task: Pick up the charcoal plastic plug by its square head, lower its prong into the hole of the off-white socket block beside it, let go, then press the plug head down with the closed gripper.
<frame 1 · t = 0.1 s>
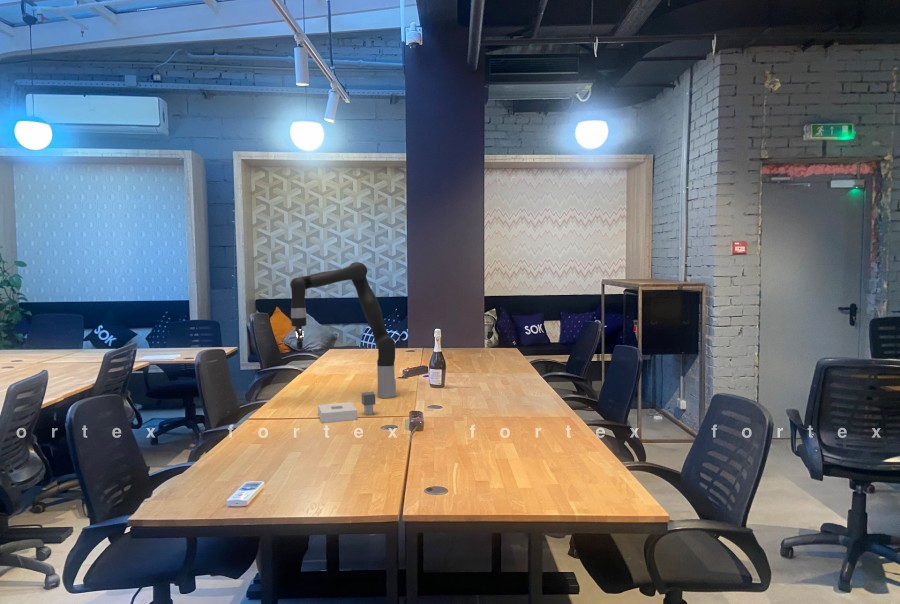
hand: (299, 348, 303), 29 cm above the table, fingers open, 8 cm apart
plug: (368, 413, 283), on the table
socket block: (337, 416, 278), on the table
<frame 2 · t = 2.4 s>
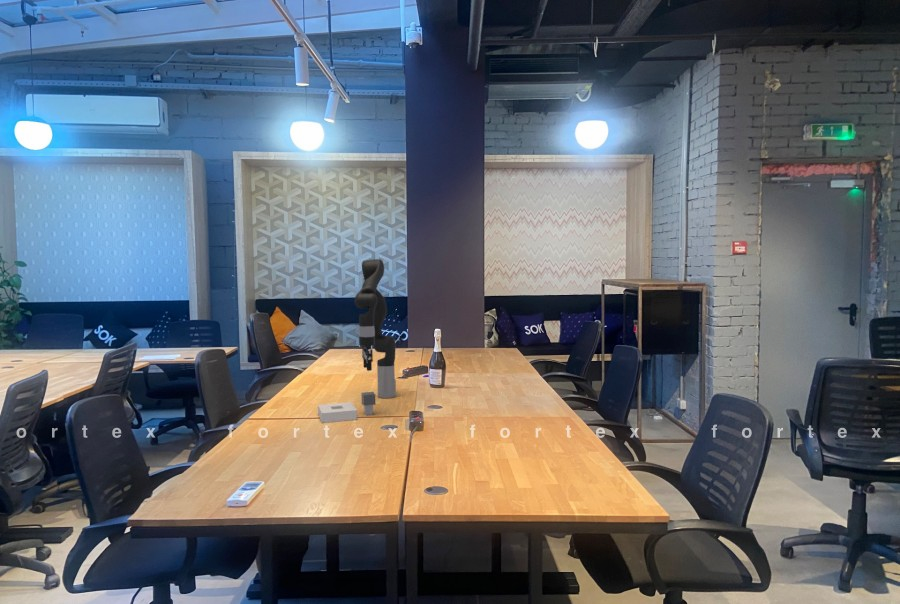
hand: (367, 369, 282), 22 cm above the table, fingers open, 8 cm apart
nothing on the table moved.
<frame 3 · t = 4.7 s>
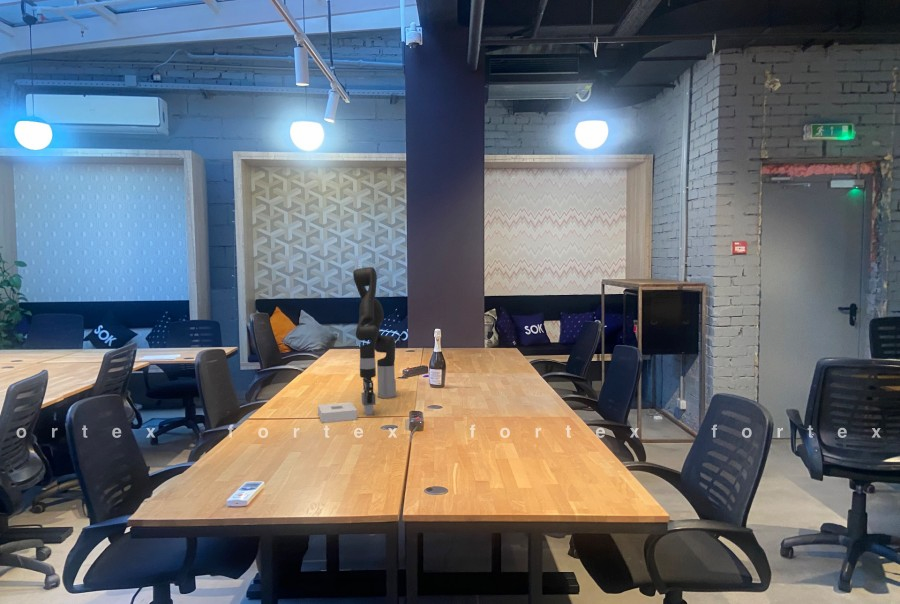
hand: (368, 401, 283), 6 cm above the table, fingers closed on plug, 5 cm apart
plug: (368, 413, 283), on the table, touching gripper
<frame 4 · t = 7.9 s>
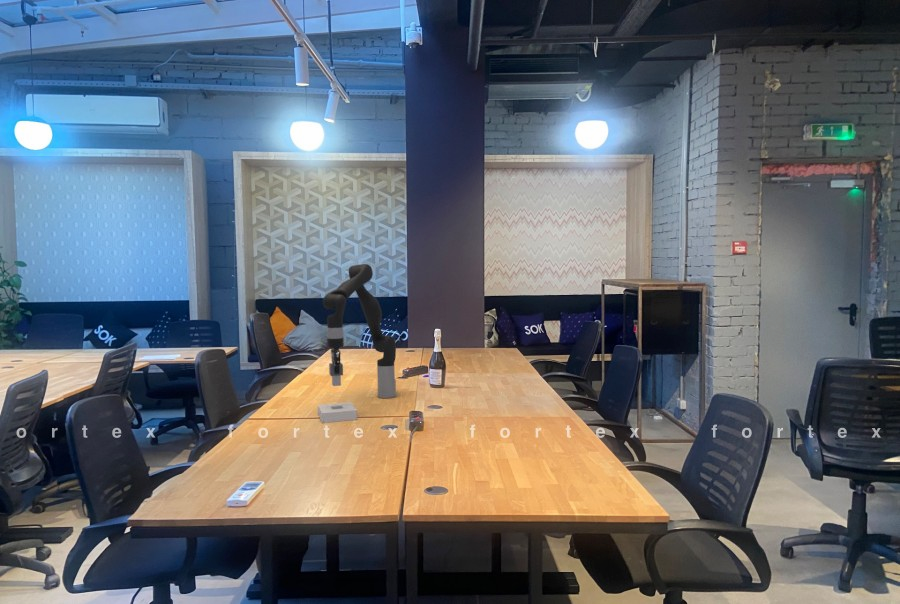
hand: (336, 372, 277), 21 cm above the table, fingers closed on plug, 5 cm apart
plug: (336, 385, 277), point 15 cm above the table, touching gripper
when the fingers open (6 cm above the table, at t = 10.9 s): plug stays where it is, resting in socket block.
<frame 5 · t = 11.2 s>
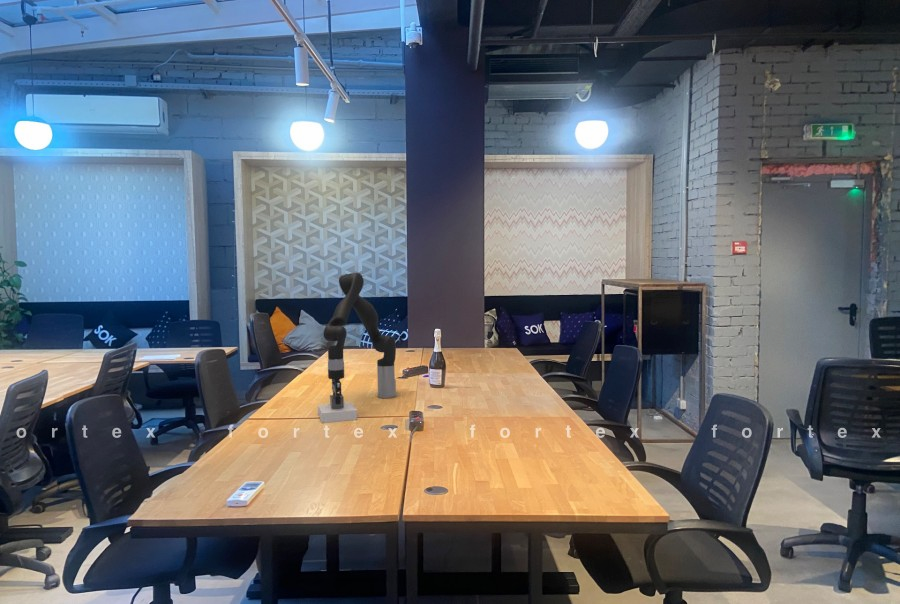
hand: (336, 402, 278), 7 cm above the table, fingers open, 8 cm apart
plug: (337, 416, 278), resting in socket block
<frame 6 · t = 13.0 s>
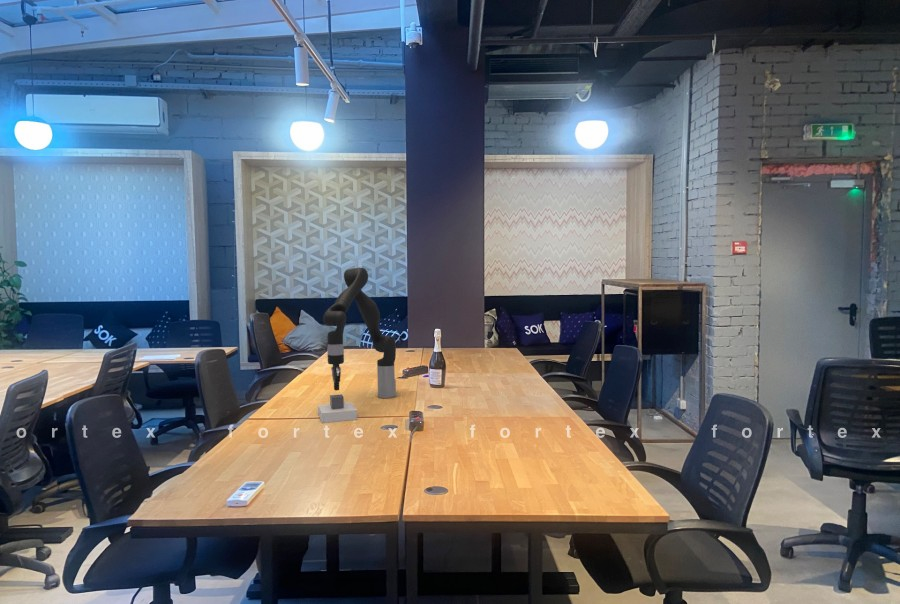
hand: (336, 389, 277), 13 cm above the table, fingers closed
nothing on the table moved.
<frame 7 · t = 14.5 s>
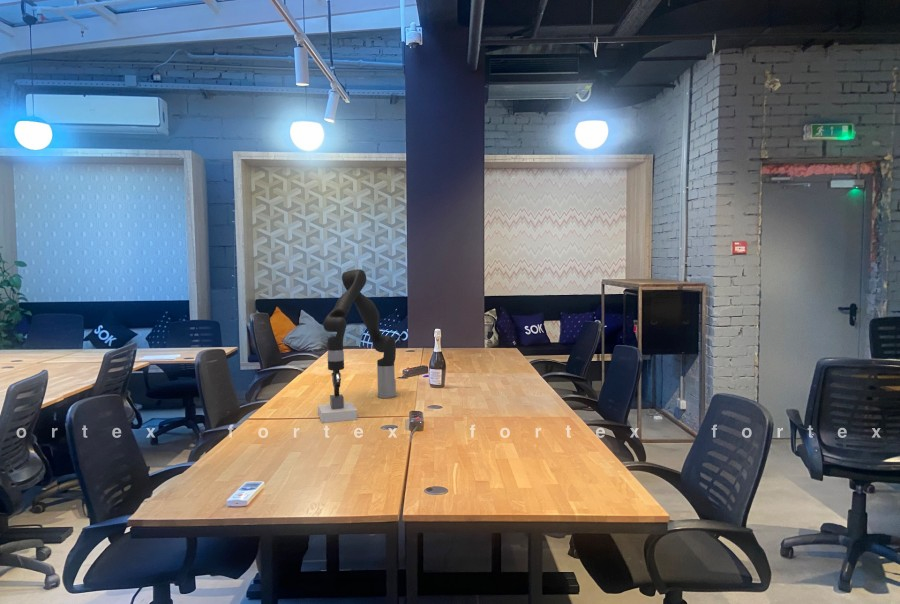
hand: (336, 395, 278), 10 cm above the table, fingers closed
nothing on the table moved.
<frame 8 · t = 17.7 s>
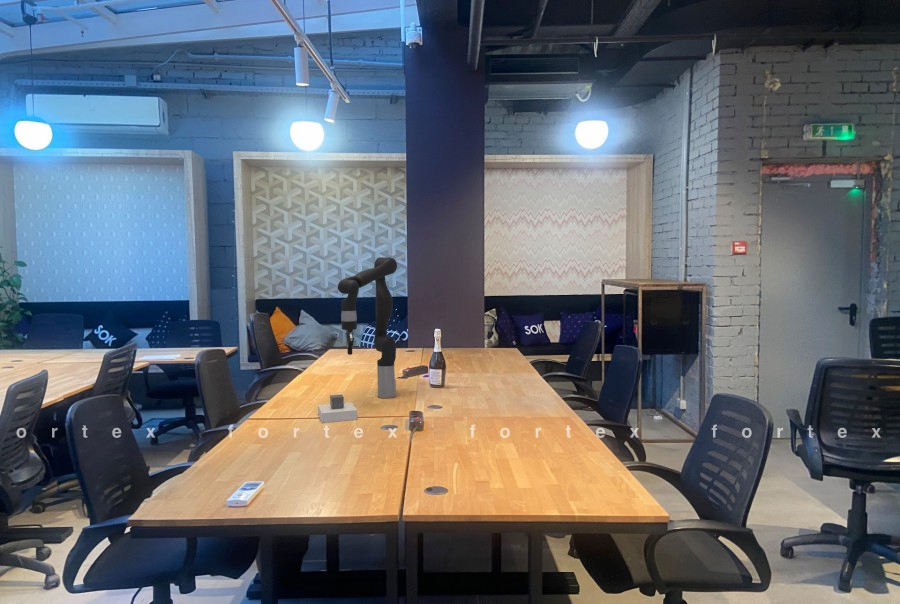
hand: (349, 354, 293), 27 cm above the table, fingers closed
nothing on the table moved.
at the end: plug 0.1 cm off-centre on the socket block, point 0.0 cm above the socket block's base; plug tilted 0°; the gripper is holding nothing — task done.
